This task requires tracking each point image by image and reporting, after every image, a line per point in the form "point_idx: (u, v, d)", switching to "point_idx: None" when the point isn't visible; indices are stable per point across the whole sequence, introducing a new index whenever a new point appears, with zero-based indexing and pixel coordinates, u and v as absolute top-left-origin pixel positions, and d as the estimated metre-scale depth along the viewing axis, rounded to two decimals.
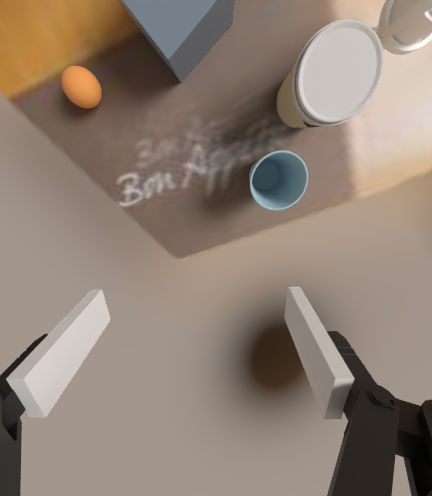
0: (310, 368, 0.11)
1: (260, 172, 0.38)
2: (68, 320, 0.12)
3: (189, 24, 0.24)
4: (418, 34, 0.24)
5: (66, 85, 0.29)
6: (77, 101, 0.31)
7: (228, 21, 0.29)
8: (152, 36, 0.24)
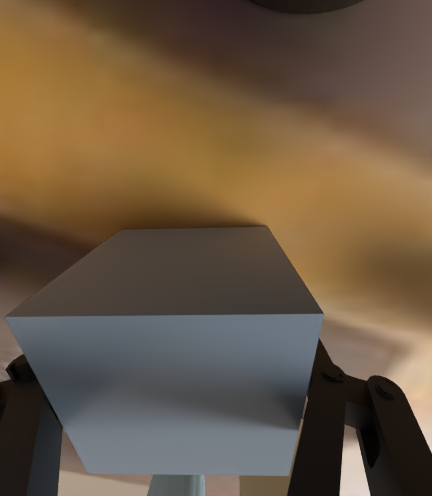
0: None
1: None
2: None
3: (164, 468, 0.11)
4: None
5: None
6: None
7: None
8: (76, 445, 0.10)
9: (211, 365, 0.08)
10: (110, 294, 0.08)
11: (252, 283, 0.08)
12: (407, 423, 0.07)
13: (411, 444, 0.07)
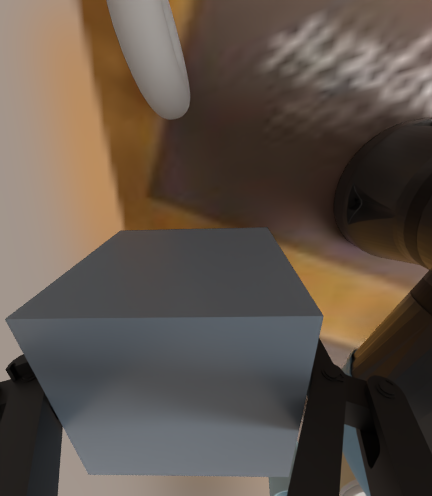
0: None
1: None
2: None
3: (164, 469, 0.11)
4: None
5: None
6: None
7: None
8: (77, 446, 0.10)
9: (211, 367, 0.08)
10: (110, 296, 0.08)
11: (252, 285, 0.08)
12: (407, 423, 0.07)
13: (411, 444, 0.07)
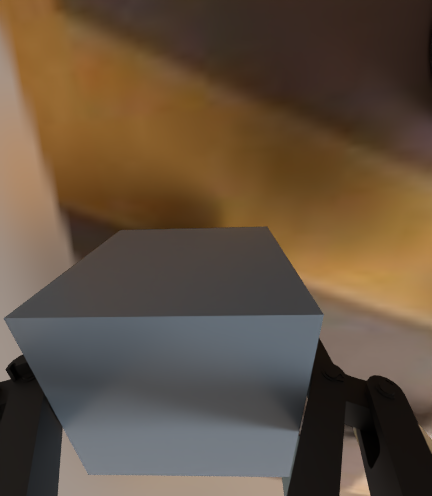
0: None
1: None
2: None
3: (164, 469, 0.11)
4: None
5: None
6: None
7: None
8: (76, 446, 0.10)
9: (211, 366, 0.08)
10: (110, 295, 0.08)
11: (251, 284, 0.08)
12: (407, 423, 0.07)
13: (411, 444, 0.07)
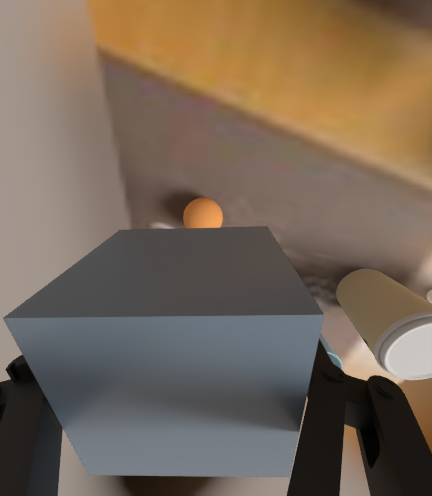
0: None
1: None
2: None
3: (164, 470, 0.11)
4: None
5: None
6: (191, 201, 0.27)
7: None
8: (76, 447, 0.10)
9: (211, 366, 0.08)
10: (109, 295, 0.08)
11: (252, 284, 0.08)
12: (407, 423, 0.07)
13: (411, 444, 0.07)
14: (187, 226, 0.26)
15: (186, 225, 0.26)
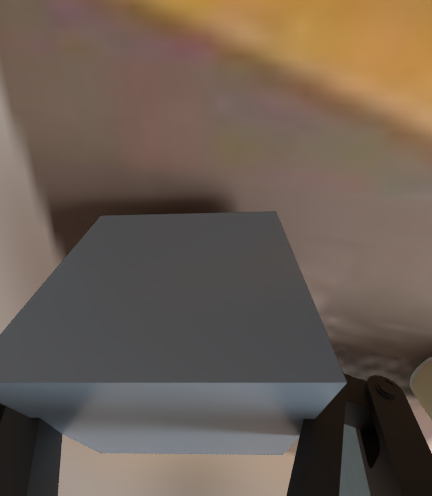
0: None
1: None
2: None
3: (168, 451, 0.12)
4: None
5: None
6: None
7: None
8: (84, 443, 0.10)
9: (211, 409, 0.07)
10: (87, 340, 0.07)
11: (258, 321, 0.07)
12: (407, 423, 0.07)
13: (411, 444, 0.07)
14: None
15: None
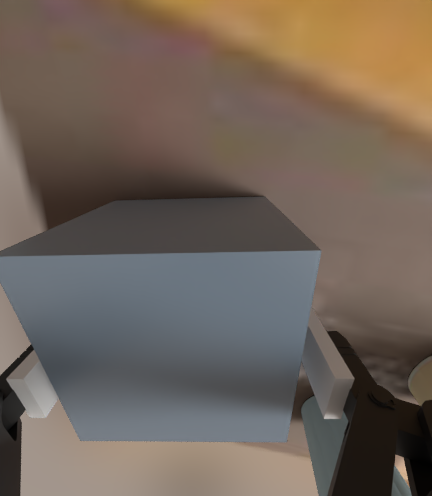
0: (310, 368, 0.11)
1: None
2: None
3: (158, 434, 0.10)
4: None
5: None
6: None
7: None
8: (67, 408, 0.10)
9: (205, 313, 0.07)
10: (99, 241, 0.08)
11: (247, 232, 0.08)
12: None
13: None
14: None
15: None
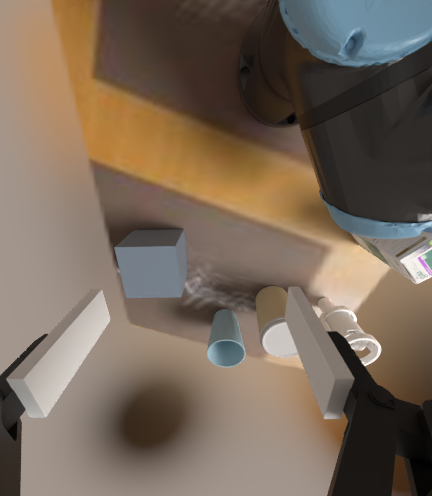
0: (310, 368, 0.11)
1: None
2: (68, 320, 0.12)
3: (147, 295, 0.39)
4: None
5: None
6: None
7: None
8: (124, 286, 0.39)
9: (155, 258, 0.36)
10: (134, 244, 0.37)
11: (166, 242, 0.37)
12: None
13: None
14: None
15: None
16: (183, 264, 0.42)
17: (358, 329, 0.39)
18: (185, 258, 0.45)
